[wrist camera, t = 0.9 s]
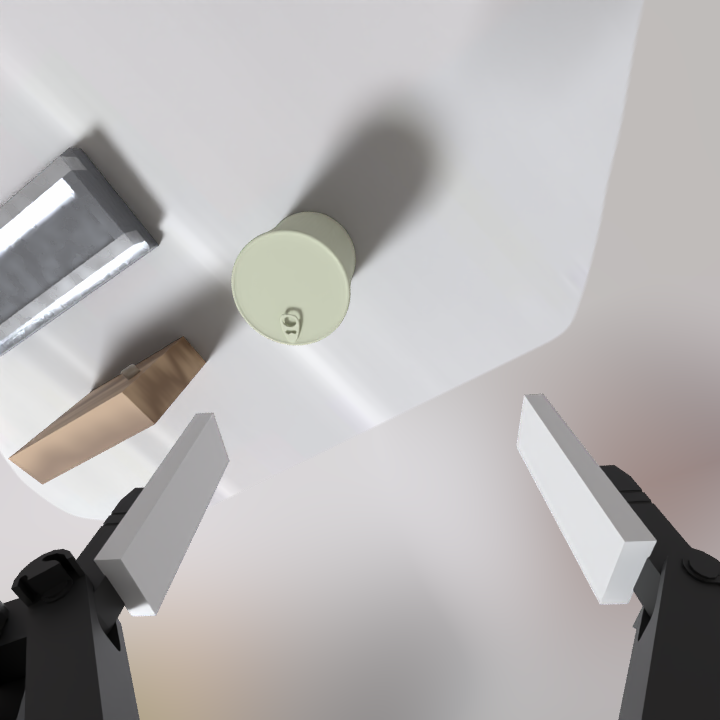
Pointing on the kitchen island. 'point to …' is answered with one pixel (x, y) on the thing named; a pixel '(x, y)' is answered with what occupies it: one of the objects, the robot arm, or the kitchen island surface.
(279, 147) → the kitchen island surface
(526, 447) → the robot arm
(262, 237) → the can
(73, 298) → the door track
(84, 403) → the door panel
